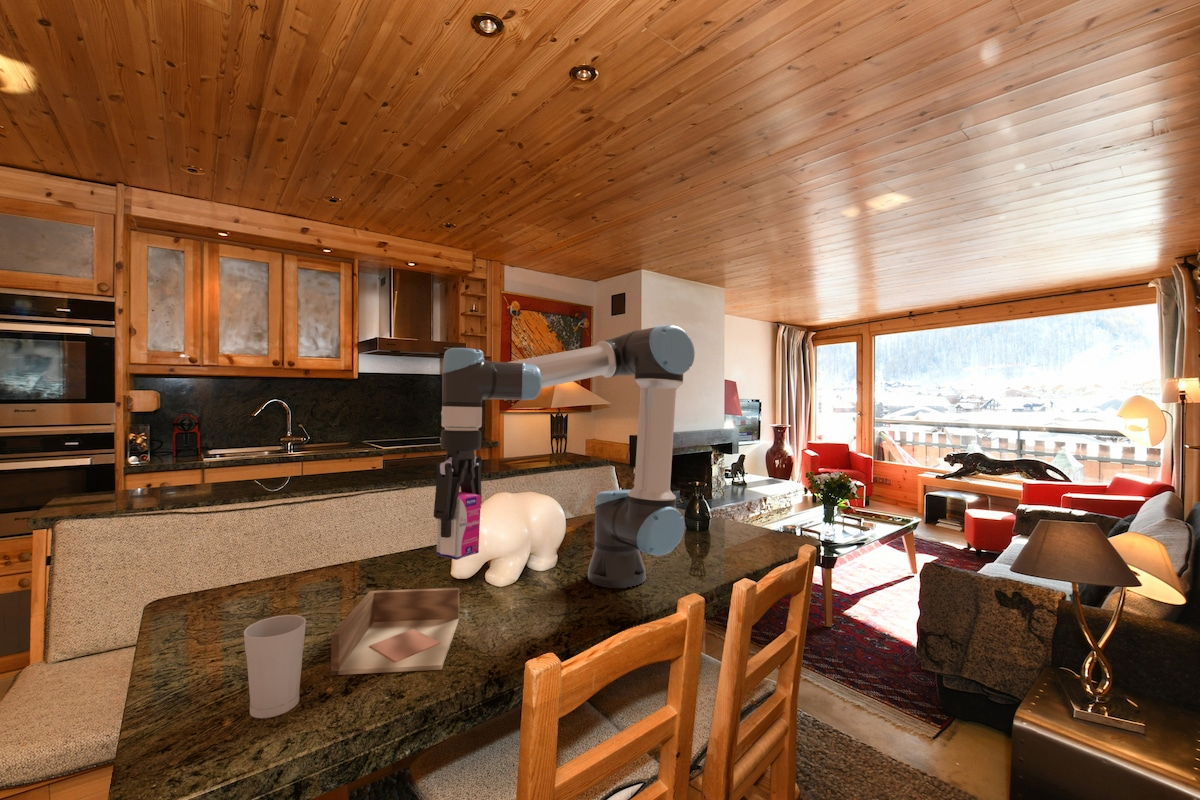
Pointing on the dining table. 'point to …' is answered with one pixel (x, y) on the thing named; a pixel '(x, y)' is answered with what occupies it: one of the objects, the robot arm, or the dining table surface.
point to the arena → (396, 632)
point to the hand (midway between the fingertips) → (458, 548)
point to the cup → (274, 664)
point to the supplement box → (464, 526)
